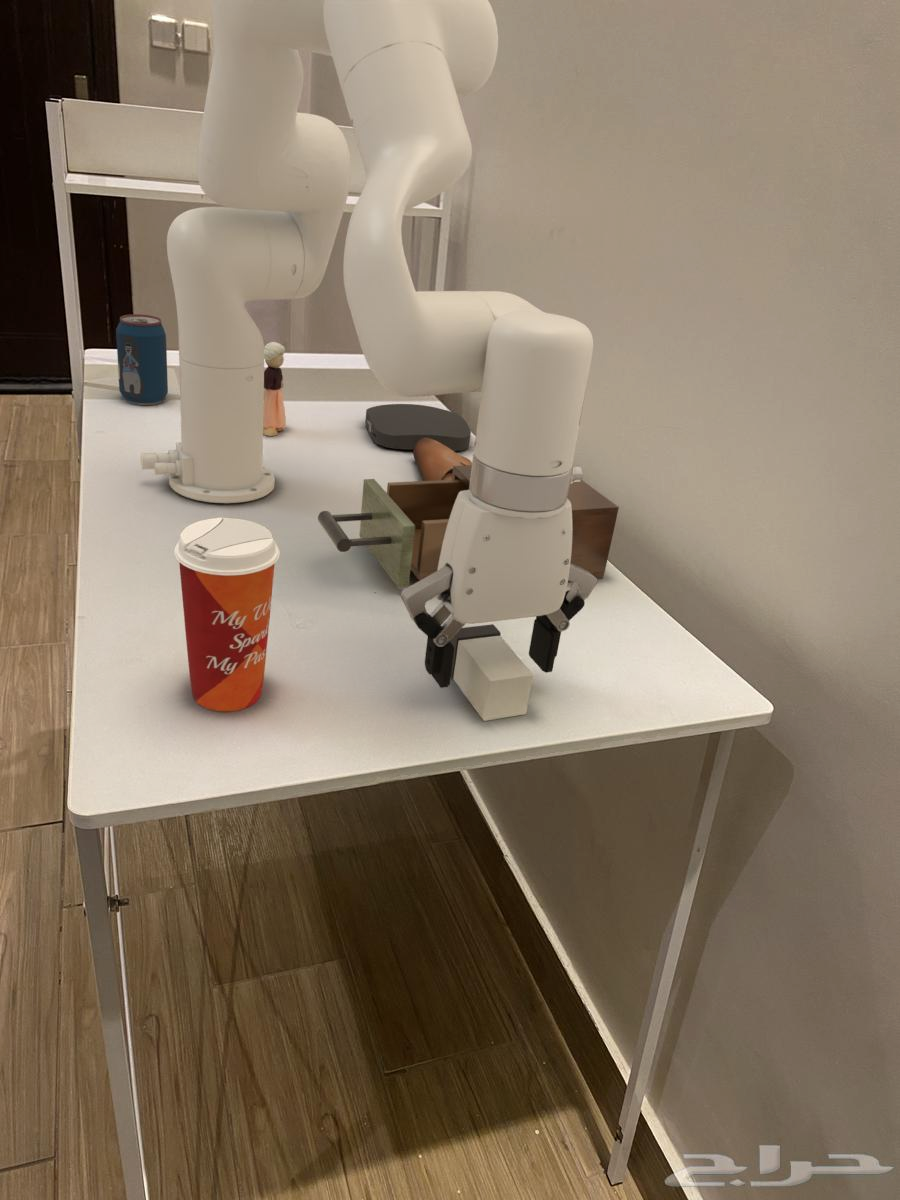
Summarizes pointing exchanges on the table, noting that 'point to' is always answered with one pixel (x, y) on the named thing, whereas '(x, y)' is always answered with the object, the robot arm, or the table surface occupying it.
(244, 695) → the paper cup
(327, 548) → the table surface
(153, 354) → the soda can
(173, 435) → the table surface
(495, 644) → the eraser
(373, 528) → the drawer
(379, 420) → the media streaming box
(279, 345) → the grandmother figurine
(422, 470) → the sunglasses case
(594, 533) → the cabinet
